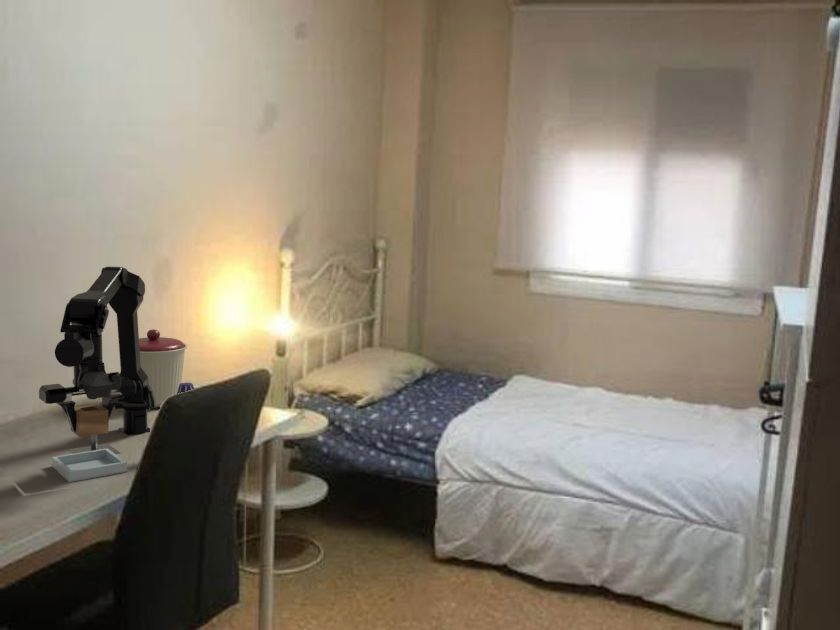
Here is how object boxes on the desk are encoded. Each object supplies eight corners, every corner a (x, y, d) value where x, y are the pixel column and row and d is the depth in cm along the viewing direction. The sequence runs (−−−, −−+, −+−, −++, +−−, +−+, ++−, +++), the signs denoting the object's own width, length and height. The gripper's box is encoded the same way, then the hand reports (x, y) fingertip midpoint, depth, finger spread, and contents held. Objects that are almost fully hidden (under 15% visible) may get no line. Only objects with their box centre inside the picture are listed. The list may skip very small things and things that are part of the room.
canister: (201, 402, 251) (200, 329, 248) (151, 415, 236) (150, 337, 233) (157, 393, 261) (156, 322, 258) (106, 404, 246) (104, 329, 243)
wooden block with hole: (67, 427, 191) (66, 405, 190) (95, 423, 195) (95, 401, 194) (79, 437, 184) (79, 413, 184) (108, 432, 188) (108, 410, 187)
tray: (52, 468, 191) (51, 456, 191) (107, 459, 199) (107, 448, 198) (69, 483, 182) (68, 472, 182) (126, 473, 189) (126, 462, 189)
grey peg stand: (68, 451, 204) (67, 426, 203) (107, 445, 209) (107, 420, 208) (80, 461, 197) (80, 435, 196) (121, 454, 202) (120, 429, 201)
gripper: (53, 368, 174) (55, 445, 177) (145, 359, 186) (146, 431, 188) (37, 358, 183) (39, 432, 185) (126, 350, 194) (127, 419, 197)
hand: (89, 429), depth 188 cm, fingers closed on wooden block with hole, 6 cm apart
